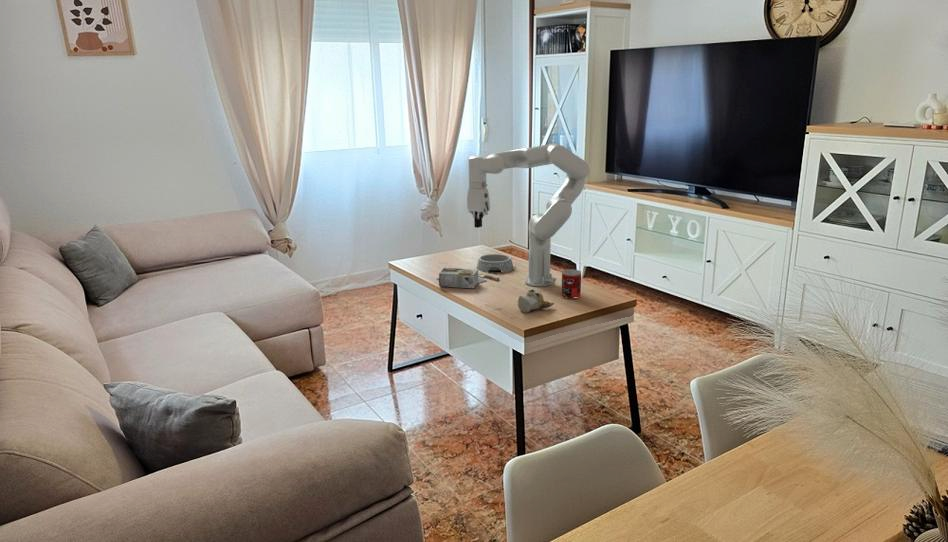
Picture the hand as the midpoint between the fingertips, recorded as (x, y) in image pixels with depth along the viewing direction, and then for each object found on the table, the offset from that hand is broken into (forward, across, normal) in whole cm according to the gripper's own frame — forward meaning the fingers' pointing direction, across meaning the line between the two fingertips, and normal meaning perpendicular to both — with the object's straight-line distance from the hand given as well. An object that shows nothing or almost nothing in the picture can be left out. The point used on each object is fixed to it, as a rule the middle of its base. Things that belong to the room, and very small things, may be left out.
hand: (478, 226), depth 272 cm
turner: (+27, +6, -11) cm, 30 cm away
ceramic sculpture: (+27, -38, +8) cm, 47 cm away
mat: (+27, +11, 0) cm, 29 cm away
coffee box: (+23, -1, +2) cm, 23 cm away
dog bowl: (+27, +14, -26) cm, 40 cm away
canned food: (+27, -40, -15) cm, 50 cm away
